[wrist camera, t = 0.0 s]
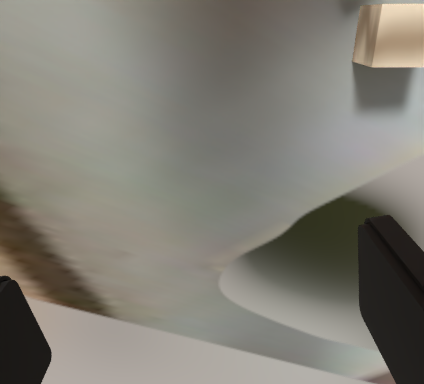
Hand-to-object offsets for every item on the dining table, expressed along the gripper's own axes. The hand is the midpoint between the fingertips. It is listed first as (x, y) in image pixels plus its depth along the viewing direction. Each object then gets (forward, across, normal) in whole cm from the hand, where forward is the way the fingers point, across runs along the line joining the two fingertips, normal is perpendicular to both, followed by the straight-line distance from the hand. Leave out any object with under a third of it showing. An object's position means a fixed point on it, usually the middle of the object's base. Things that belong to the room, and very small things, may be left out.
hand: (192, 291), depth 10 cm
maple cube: (+31, -18, -2) cm, 36 cm away
